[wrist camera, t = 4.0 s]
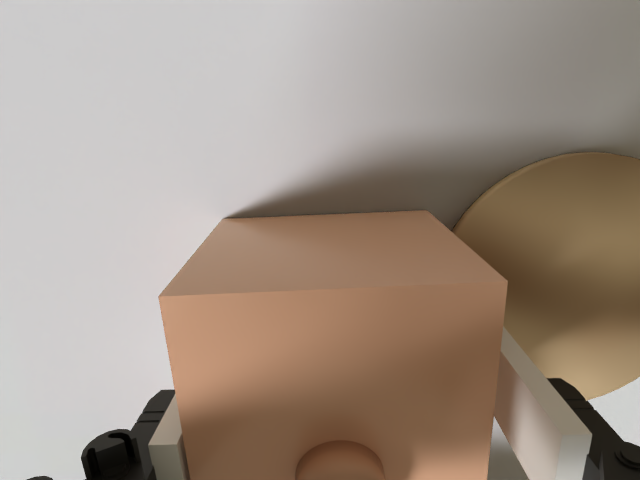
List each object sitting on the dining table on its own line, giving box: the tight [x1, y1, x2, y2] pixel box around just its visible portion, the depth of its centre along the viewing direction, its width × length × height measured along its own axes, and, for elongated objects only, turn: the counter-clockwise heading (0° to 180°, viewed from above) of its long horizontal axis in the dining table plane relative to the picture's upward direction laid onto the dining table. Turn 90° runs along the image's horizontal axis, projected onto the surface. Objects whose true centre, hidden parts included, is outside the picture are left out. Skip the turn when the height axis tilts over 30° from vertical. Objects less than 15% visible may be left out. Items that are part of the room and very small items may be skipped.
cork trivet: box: [452, 152, 640, 400], centre depth 17 cm, size 11×11×1 cm
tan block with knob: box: [158, 210, 508, 480], centre depth 14 cm, size 11×8×8 cm
